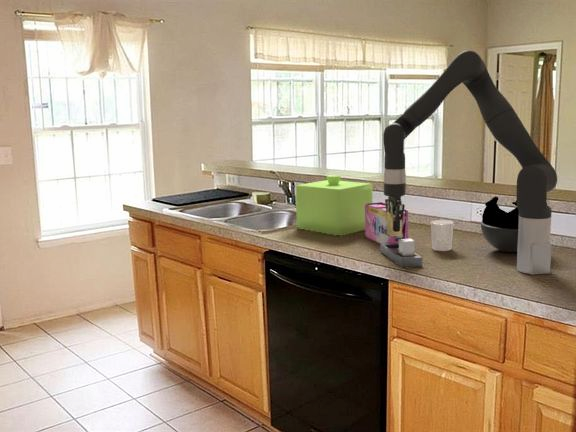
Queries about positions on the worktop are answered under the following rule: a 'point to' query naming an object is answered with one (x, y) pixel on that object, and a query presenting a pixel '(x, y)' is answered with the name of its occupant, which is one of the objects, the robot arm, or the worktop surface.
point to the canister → (332, 205)
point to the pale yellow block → (390, 225)
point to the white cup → (441, 235)
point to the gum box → (382, 224)
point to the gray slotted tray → (393, 253)
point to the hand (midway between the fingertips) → (394, 229)
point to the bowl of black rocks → (500, 226)
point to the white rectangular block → (406, 247)
